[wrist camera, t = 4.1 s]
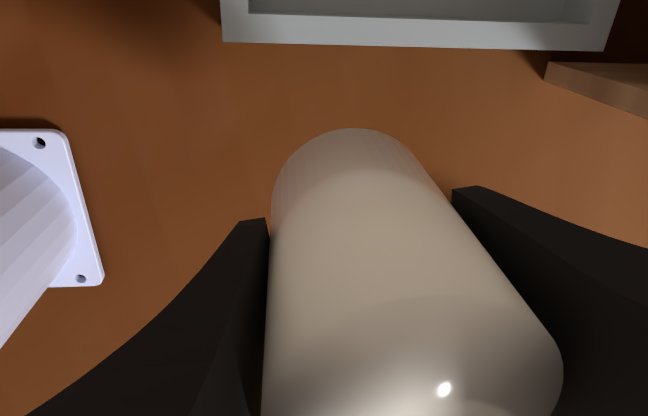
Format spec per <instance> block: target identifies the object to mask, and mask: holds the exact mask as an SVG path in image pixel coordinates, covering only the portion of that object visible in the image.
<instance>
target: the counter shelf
mask: <svg viewBox="0 0 648 416" xmlns="http://www.w3.org/2000/svg"><path fill="white" fill-rule="evenodd" d="M543 81H546V82H548V83H551V84H554V85H557V86H559V87H562V88H565V89H567V90H570V91H573V92H575V93H578V94H581V95H583V96H586V97H589V98H591V99H594V100H597V101H599V102H602V103H605V104H607V105H610V106H613V107H616V108H618V109H621V110H624V111H626V112H629V113H632V114H634V115H637V116H640V117H642V118H645V119H648V64H633V63H589V62H548V65H547V69H546V72H545V76H544V79H543Z"/></svg>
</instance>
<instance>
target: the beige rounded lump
mask: <svg viewBox="0 0 648 416" xmlns="http://www.w3.org/2000/svg"><path fill="white" fill-rule="evenodd" d="M563 378H564V377H563V362H562V358H561V354H560V351H559V349H558V347H557V345H556V343H555V341H554V339H553V338H552V337H551V335H550V334H549V333H548V331H547V330H546V329H545V327H544V326H543V325H542V323H541V322H540V321H539V319H538V318H537V317H536V316H535V314H534V313H533V312H532V310H531V309H530V308H529V306H528V305H527V304H526V302H525V301H524V300H523V298H522V297H521V296H520V294H519V293H518V292H517V290H516V289H515V288H514V287H513V285H512V284H511V283H510V281H509V280H508V279H507V277H506V276H505V275H504V273H503V272H502V271H501V269H500V268H499V267H498V265H497V264H496V263H495V262H494V260H493V259H492V258H491V256H490V255H489V254H488V252H487V251H486V250H485V248H484V247H483V246H482V244H481V243H480V242H479V240H478V239H477V238H476V236H475V235H474V234H473V233H472V231H471V230H470V229H469V227H468V226H467V225H466V223H465V222H464V221H463V219H462V218H461V217H460V215H459V214H458V213H457V211H456V210H455V209H454V208H453V206H452V205H451V204H450V202H449V201H448V200H447V198H446V197H445V196H444V194H443V193H442V192H441V190H440V189H439V188H438V186H437V185H436V184H435V182H434V181H433V180H432V179H431V177H430V176H429V175H428V173H427V172H426V171H425V169H424V168H423V167H422V165H421V164H420V163H419V161H418V160H417V159H416V157H415V156H414V155H413V154H412V152H411V151H410V150H409V149H408V148H407V147H406V146H405V145H404V144H402V143H401V142H399V141H398V140H396V139H395V138H393V137H391V136H389V135H387V134H384V133H381V132H378V131H375V130H370V129H363V128H347V129H340V130H334V131H331V132H328V133H325V134H322V135H320V136H317V137H315V138H313V139H311V140H310V141H308V142H307V143H305V144H304V145H302V146H301V147H300V148H299V149H297V150H296V151H295V152H294V153H293V154H292V155H291V156H290V157H289V158H288V160H287V161H286V162H285V164H284V165H283V167H282V168H281V170H280V172H279V174H278V176H277V178H276V181H275V184H274V188H273V193H272V206H271V225H270V245H269V264H268V283H267V303H266V322H265V341H264V361H263V380H262V399H261V416H550V415H551V413H552V411H553V409H554V408H555V406H556V404H557V401H558V399H559V396H560V393H561V390H562V384H563Z"/></svg>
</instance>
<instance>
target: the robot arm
mask: <svg viewBox="0 0 648 416" xmlns="http://www.w3.org/2000/svg"><path fill="white" fill-rule="evenodd" d="M37 137H39V138H41V139H43V140H44V141H45V143H46V146H43V145H41V144H39V143H38V141H37ZM451 205H452V206H453V208H454V209H455V210H456V211H457V213H458V214H459V215H460V217H461V218H462V219H463V221H464V222H465V223H466V225H467V226H468V227H469V229H470V230H471V231H472V233H473V234H474V235H475V236H476V238H477V239H478V240H479V242H480V243H481V244H482V246H483V247H484V248H485V250H486V251H487V252H488V254H489V255H490V256H491V258H492V259H493V260H494V262H495V263H496V264H497V265H498V267H499V268H500V269H501V271H502V272H503V273H504V275H505V276H506V277H507V279H508V280H509V281H510V283H511V284H512V285H513V287H514V288H515V289H516V290H517V292H518V293H519V294H520V296H521V297H522V298H523V300H524V301H525V302H526V304H527V305H528V306H529V308H530V309H531V310H532V312H533V313H534V314H535V316H536V317H537V318H538V319H539V321H540V322H541V323H542V325H543V326H544V327H545V329H546V330H547V331H548V333H549V334H550V335H551V337H552V338H553V339H554V341H555V343H556V345H557V347H558V349H559V351H560V354H561V358H562V362H563V377H564V378H563V384H562V390H561V393H560V396H559V399H558V401H557V404H556V406H555V408H554V409H553V411H552V413H551V415H550V416H648V249H647V248H644V247H640V246H637V245H633V244H630V243H627V242H624V241H621V240H618V239H614V238H611V237H608V236H606V235H603V234H600V233H597V232H595V231H592V230H589V229H586V228H583V227H581V226H578V225H575V224H573V223H570V222H568V221H565V220H562V219H560V218H557V217H555V216H552V215H550V214H548V213H545V212H543V211H540V210H538V209H536V208H533V207H531V206H528V205H526V204H524V203H521V202H519V201H517V200H514V199H512V198H510V197H507V196H505V195H502V194H500V193H497V192H495V191H492V190H490V189H487V188H484V187H481V186H470V187H464V188H457V189H452V202H451ZM269 245H270V238H269V233H268V229H267V224H266V220H265V217H264V218H257V219H251V220H244V221H239V222H238V224H237V225H236V226H235V227H234V229H233V230H232V231H231V232H230V234H229V235H228V236H227V237H226V239H225V240H224V241H223V243H222V244H221V245H220V246H219V248H218V249H217V250H216V252H215V253H214V254H213V255H212V257H211V258H210V259H209V260H208V261H207V263H206V264H205V265H204V266H203V267H202V269H201V270H200V271H199V272H198V273H197V274H196V275H195V276H194V278H193V279H192V280H191V281H190V282H189V283H188V284H187V285H186V286H185V287H184V288H183V290H182V291H181V292H180V293H179V294H178V295H177V296H176V297H175V298H174V299H173V300H172V301H171V302H170V303H169V304H168V305H167V306H166V307H165V308H164V309H163V310H162V311H161V312H160V313H159V314H158V315H157V316H156V317H155V318H154V319H153V320H151V321H150V322H149V323H148V324H147V325H146V326H145V327H144V328H142V329H141V330H140V331H139V332H138V333H137V334H136V335H135V336H133V337H132V338H131V339H130V340H129V341H127V342H126V343H125V344H124V345H122V346H121V347H120V348H118V349H117V350H116V351H115V352H113V353H112V354H111V355H109V356H108V357H107V358H106V359H104V360H103V361H102V362H101V363H99V364H98V365H97V366H95V367H94V368H93V369H92V370H90V371H89V372H88V373H86V374H85V375H84V376H82V377H81V378H80V379H78V380H77V381H75V382H74V383H73V384H71V385H70V386H68V387H67V388H65V389H64V390H63V391H61V392H60V393H58V394H57V395H55V396H54V397H53V398H51V399H50V400H48V401H47V402H45V403H44V404H42V405H41V406H39V407H38V408H36V409H35V410H33V411H32V412H30V413H29V414H27V415H25V416H261V399H262V380H263V361H264V341H265V322H266V303H267V283H268V264H269ZM79 275H83V276H85V277H86V278H82V277H80V276H79ZM104 277H105V275H104V270H103V267H102V263H101V259H100V256H99V252H98V248H97V245H96V241H95V237H94V234H93V230H92V226H91V223H90V219H89V215H88V212H87V208H86V204H85V201H84V197H83V193H82V189H81V186H80V182H79V178H78V175H77V171H76V167H75V164H74V160H73V156H72V153H71V149H70V145H69V142H68V139H67V137H66V136H65V135H64V134H63V133H62V132H61V131H59V130H56V129H0V348H1V347H2V346H3V345H4V343H5V342H6V341H7V339H8V338H9V337H10V335H11V334H12V333H13V331H14V330H15V329H16V328H17V326H18V325H19V324H20V322H21V321H22V320H23V318H24V317H25V316H26V315H27V313H28V312H29V311H30V309H31V308H32V307H33V305H34V304H35V303H36V301H37V300H38V299H39V298H40V296H41V295H42V294H43V292H44V291H45V290H46V288H47V287H74V286H96V285H99V284H101V282H102V280H103V279H104Z"/></svg>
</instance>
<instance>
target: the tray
mask: <svg viewBox="0 0 648 416" xmlns="http://www.w3.org/2000/svg"><path fill="white" fill-rule="evenodd" d="M619 3H620V0H220V10H221V23H222V36H223V42H248V43H287V44H326V45H366V46H405V47H444V48H483V49H522V50H561V51H600V52H603V50H604V47H605V44H606V41H607V38H608V35H609V32H610V30H611V27H612V24H613V21H614V18H615V15H616V12H617V9H618V6H619Z"/></svg>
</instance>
